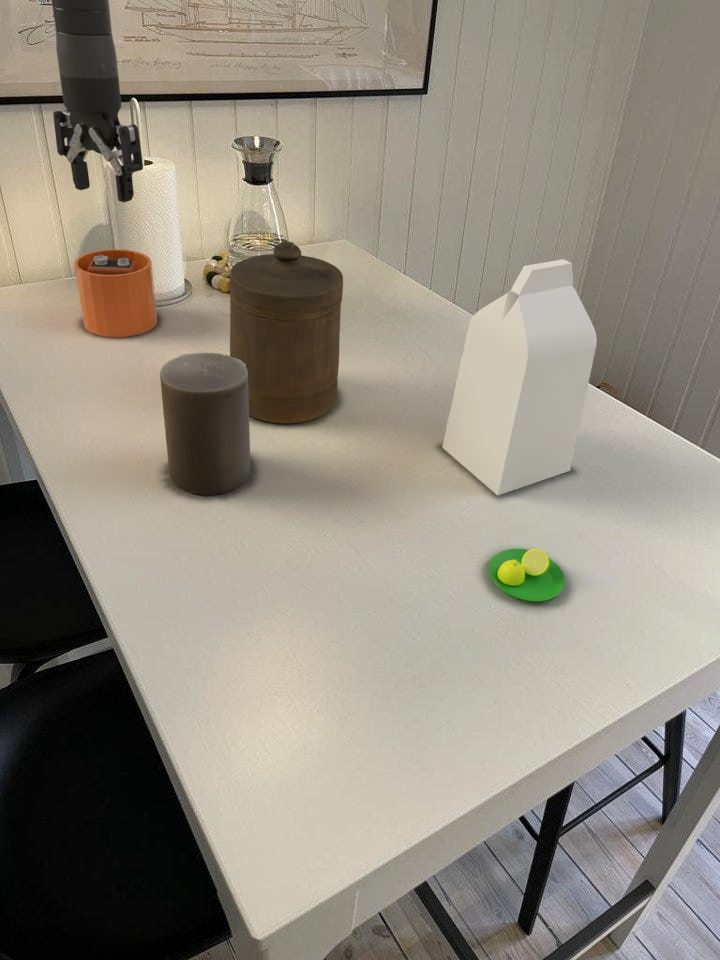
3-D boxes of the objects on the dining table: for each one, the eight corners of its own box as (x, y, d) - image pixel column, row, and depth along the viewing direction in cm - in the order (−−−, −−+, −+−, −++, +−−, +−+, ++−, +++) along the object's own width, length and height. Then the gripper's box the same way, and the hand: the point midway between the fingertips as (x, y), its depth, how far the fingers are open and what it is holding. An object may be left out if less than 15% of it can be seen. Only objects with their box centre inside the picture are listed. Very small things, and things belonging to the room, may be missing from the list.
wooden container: (354, 389, 110) (365, 240, 97) (302, 436, 99) (307, 274, 86) (268, 362, 115) (268, 216, 102) (210, 404, 104) (201, 246, 91)
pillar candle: (202, 506, 86) (194, 391, 77) (153, 468, 91) (140, 357, 82) (267, 473, 92) (267, 363, 83) (218, 440, 97) (212, 333, 88)
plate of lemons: (519, 543, 84) (524, 523, 83) (578, 583, 80) (585, 563, 78) (472, 573, 80) (476, 553, 78) (532, 617, 75) (538, 597, 74)
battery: (100, 312, 124) (91, 252, 118) (142, 313, 124) (136, 254, 118) (94, 323, 120) (85, 262, 114) (138, 325, 121) (131, 264, 115)
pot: (68, 324, 120) (57, 263, 115) (120, 301, 129) (112, 244, 123) (121, 344, 116) (113, 282, 110) (171, 319, 124) (166, 260, 119)
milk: (497, 495, 91) (542, 291, 76) (442, 447, 99) (472, 253, 84) (570, 470, 97) (625, 275, 81) (512, 426, 104) (553, 241, 89)
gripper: (148, 76, 101) (158, 199, 110) (72, 60, 106) (88, 180, 116) (107, 81, 96) (121, 211, 105) (28, 65, 101) (49, 189, 110)
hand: (103, 194), depth 110 cm, fingers open, 8 cm apart
